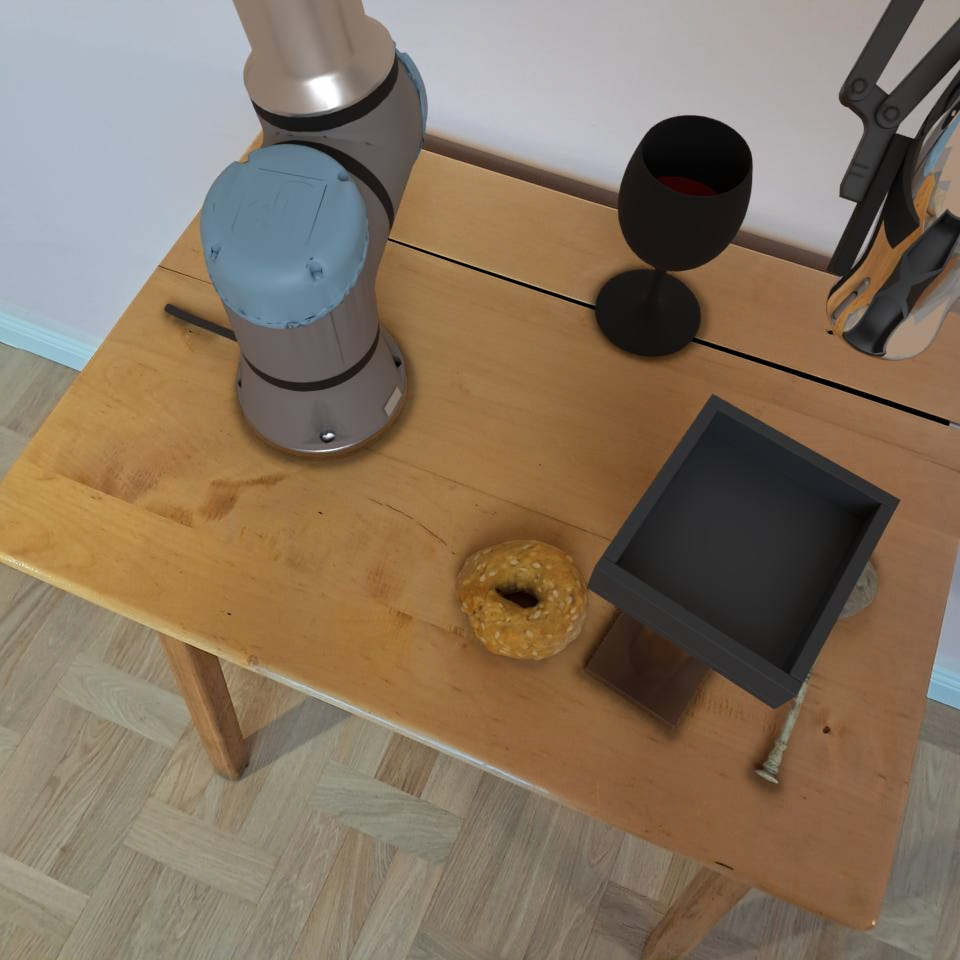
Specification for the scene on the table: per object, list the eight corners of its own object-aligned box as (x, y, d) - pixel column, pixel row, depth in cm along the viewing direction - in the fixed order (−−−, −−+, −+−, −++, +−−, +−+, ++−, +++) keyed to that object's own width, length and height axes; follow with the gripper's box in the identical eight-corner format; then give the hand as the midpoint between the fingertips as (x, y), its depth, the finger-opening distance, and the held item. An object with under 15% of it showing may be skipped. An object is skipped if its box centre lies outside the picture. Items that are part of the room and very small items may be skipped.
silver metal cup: (945, 379, 47) (1147, 165, 33) (815, 356, 47) (962, 135, 34) (940, 278, 50) (1122, 44, 36) (818, 257, 50) (953, 18, 37)
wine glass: (699, 275, 87) (760, 111, 69) (702, 362, 82) (768, 211, 64) (595, 266, 87) (629, 102, 69) (592, 353, 83) (627, 200, 65)
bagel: (495, 523, 75) (498, 499, 70) (607, 591, 72) (616, 571, 68) (429, 616, 71) (428, 597, 67) (544, 691, 68) (550, 676, 64)
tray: (585, 587, 48) (594, 566, 45) (698, 421, 53) (712, 393, 50) (774, 710, 45) (796, 696, 42) (875, 523, 50) (901, 499, 47)
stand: (583, 671, 69) (636, 570, 49) (634, 593, 72) (704, 467, 52) (671, 730, 67) (765, 652, 47) (719, 647, 70) (828, 539, 50)
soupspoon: (879, 563, 75) (805, 531, 76) (895, 546, 72) (818, 513, 73) (802, 801, 65) (719, 760, 67) (817, 794, 62) (730, 750, 64)
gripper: (1402, -153, 36) (1094, 365, 44) (925, -271, 39) (718, 232, 47) (1562, -244, 29) (1162, 390, 37) (966, -380, 32) (715, 232, 40)
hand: (913, 301), depth 42 cm, fingers closed on silver metal cup, 7 cm apart
